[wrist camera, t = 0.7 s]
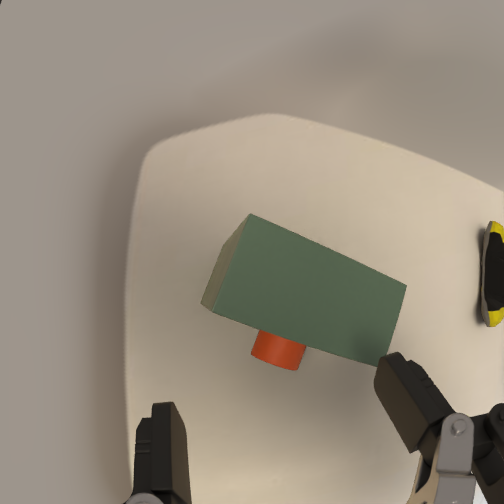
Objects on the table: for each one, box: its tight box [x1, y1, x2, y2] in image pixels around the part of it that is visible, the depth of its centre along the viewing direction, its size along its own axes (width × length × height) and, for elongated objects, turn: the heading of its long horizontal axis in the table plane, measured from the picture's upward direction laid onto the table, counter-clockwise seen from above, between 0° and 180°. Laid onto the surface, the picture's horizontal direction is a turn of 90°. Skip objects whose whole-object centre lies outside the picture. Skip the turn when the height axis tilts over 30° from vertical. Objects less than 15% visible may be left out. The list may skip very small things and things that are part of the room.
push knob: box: [251, 330, 306, 370], centre depth 22 cm, size 3×4×4 cm
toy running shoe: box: [481, 221, 504, 327], centre depth 35 cm, size 15×6×10 cm
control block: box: [201, 214, 407, 367], centre depth 24 cm, size 6×12×12 cm, turn 69°
